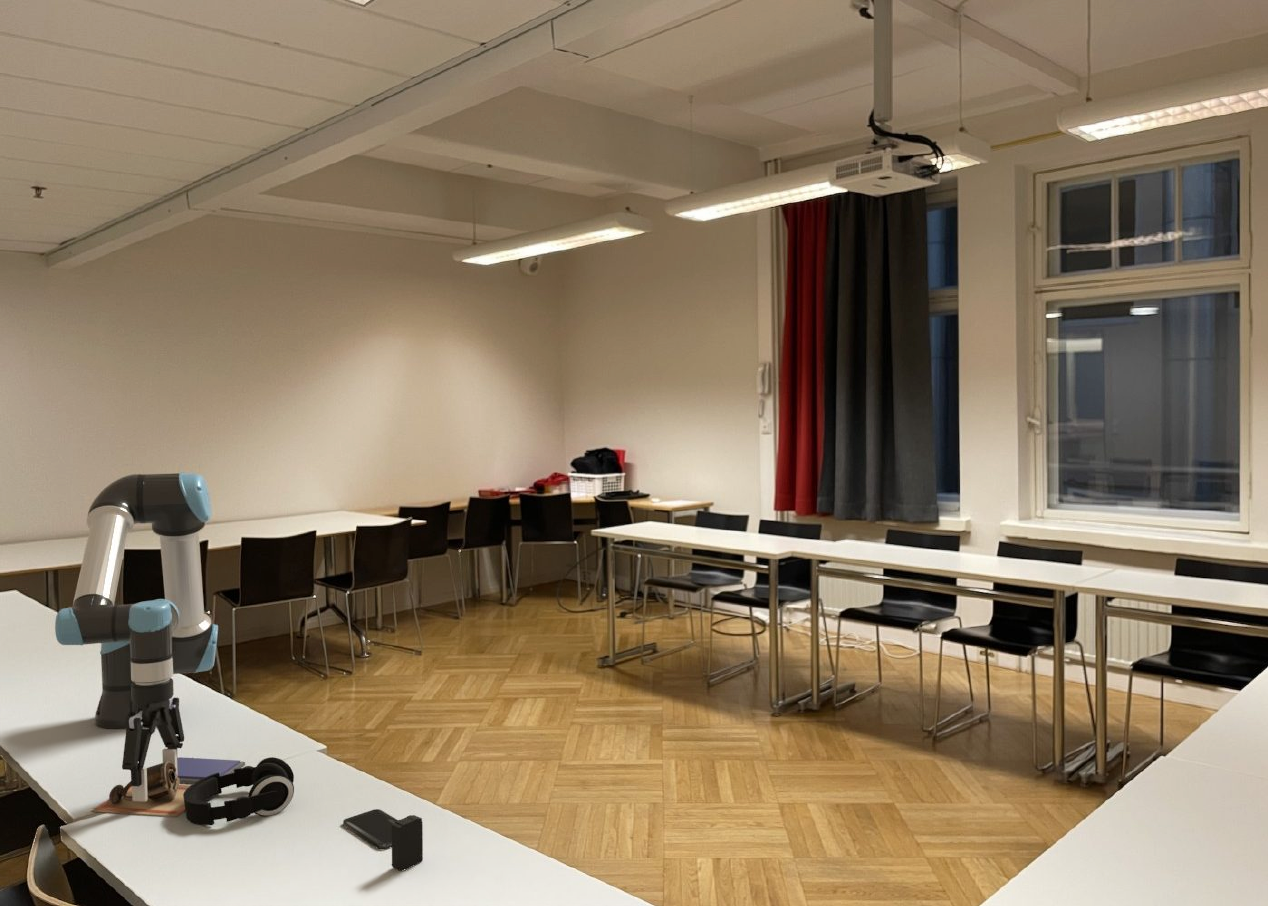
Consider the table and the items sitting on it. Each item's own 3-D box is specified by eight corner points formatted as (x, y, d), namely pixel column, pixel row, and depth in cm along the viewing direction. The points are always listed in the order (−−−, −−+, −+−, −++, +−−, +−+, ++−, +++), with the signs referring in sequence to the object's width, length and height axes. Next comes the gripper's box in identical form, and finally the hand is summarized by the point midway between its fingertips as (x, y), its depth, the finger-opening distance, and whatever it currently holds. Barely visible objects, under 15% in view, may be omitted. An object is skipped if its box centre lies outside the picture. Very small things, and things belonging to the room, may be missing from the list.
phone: (381, 847, 172) (340, 820, 183) (381, 853, 172) (341, 826, 183) (419, 833, 178) (378, 807, 188) (419, 839, 178) (378, 813, 188)
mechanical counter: (158, 785, 187) (189, 755, 197) (98, 775, 189) (132, 746, 198) (161, 816, 189) (192, 785, 199) (102, 806, 191) (135, 776, 201)
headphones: (290, 777, 185) (175, 803, 178) (296, 816, 185) (182, 844, 179) (292, 746, 202) (187, 768, 195) (297, 782, 202) (193, 806, 196)
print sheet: (137, 783, 202) (137, 782, 202) (217, 788, 200) (217, 786, 200) (90, 811, 188) (90, 810, 188) (176, 817, 186) (176, 816, 186)
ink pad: (177, 761, 214) (177, 756, 214) (245, 765, 212) (245, 759, 212) (146, 780, 204) (146, 775, 204) (216, 785, 201) (216, 779, 201)
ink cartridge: (414, 857, 170) (414, 813, 169) (423, 861, 168) (422, 816, 168) (391, 868, 166) (390, 822, 165) (399, 872, 164) (399, 826, 164)
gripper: (168, 664, 204) (171, 768, 205) (97, 696, 182) (101, 812, 184) (201, 665, 203) (204, 770, 204) (134, 697, 181) (137, 814, 183)
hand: (155, 790), depth 194 cm, fingers closed on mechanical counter, 9 cm apart
